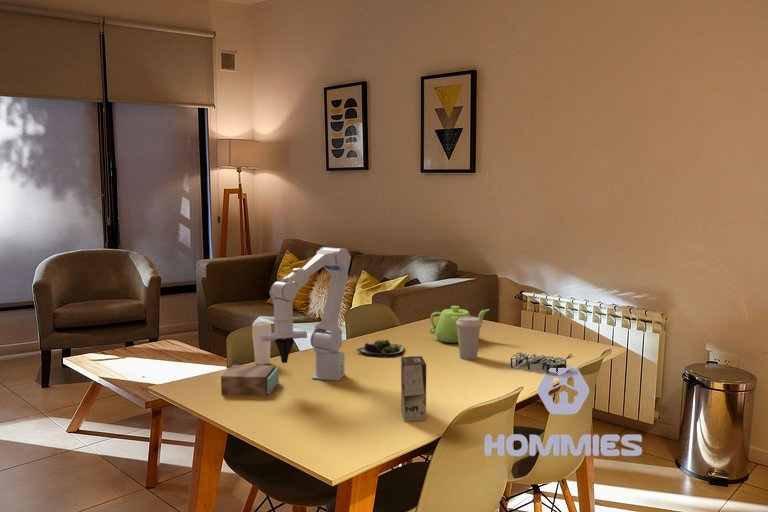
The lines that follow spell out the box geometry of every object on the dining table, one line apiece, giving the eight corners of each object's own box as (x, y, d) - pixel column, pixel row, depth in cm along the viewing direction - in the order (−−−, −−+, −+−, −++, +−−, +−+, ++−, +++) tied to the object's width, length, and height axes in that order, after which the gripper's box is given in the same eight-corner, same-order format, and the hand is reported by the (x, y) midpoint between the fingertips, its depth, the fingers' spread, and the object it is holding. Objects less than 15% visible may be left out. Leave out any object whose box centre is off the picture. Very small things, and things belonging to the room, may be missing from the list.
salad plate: (364, 344, 270) (364, 333, 269) (407, 346, 266) (407, 335, 266) (353, 356, 251) (353, 344, 250) (400, 358, 248) (400, 346, 247)
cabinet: (275, 382, 217) (275, 365, 216) (265, 395, 204) (265, 377, 203) (233, 381, 218) (233, 364, 217) (221, 394, 205) (221, 376, 204)
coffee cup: (452, 359, 245) (452, 320, 243) (459, 353, 254) (459, 315, 252) (477, 362, 241) (478, 322, 240) (483, 355, 250) (484, 317, 249)
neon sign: (586, 348, 247) (561, 366, 222) (585, 359, 247) (560, 378, 223) (532, 340, 258) (502, 357, 234) (531, 351, 259) (502, 368, 234)
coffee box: (426, 421, 182) (427, 364, 180) (403, 421, 181) (403, 365, 179) (422, 409, 191) (422, 355, 189) (400, 410, 190) (400, 356, 188)
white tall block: (267, 366, 236) (266, 325, 234) (250, 365, 237) (249, 324, 235) (274, 361, 242) (273, 321, 241) (257, 360, 244) (256, 321, 242)
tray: (278, 382, 216) (278, 367, 216) (269, 394, 204) (269, 378, 203) (237, 381, 217) (237, 366, 217) (226, 393, 205) (225, 378, 204)
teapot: (424, 338, 278) (424, 305, 276) (459, 332, 289) (459, 300, 288) (453, 347, 263) (453, 312, 261) (489, 341, 274) (490, 307, 272)
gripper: (302, 315, 212) (303, 356, 213) (257, 319, 206) (258, 361, 208) (308, 319, 205) (309, 362, 207) (262, 323, 200) (263, 367, 201)
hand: (284, 362), depth 207 cm, fingers closed
